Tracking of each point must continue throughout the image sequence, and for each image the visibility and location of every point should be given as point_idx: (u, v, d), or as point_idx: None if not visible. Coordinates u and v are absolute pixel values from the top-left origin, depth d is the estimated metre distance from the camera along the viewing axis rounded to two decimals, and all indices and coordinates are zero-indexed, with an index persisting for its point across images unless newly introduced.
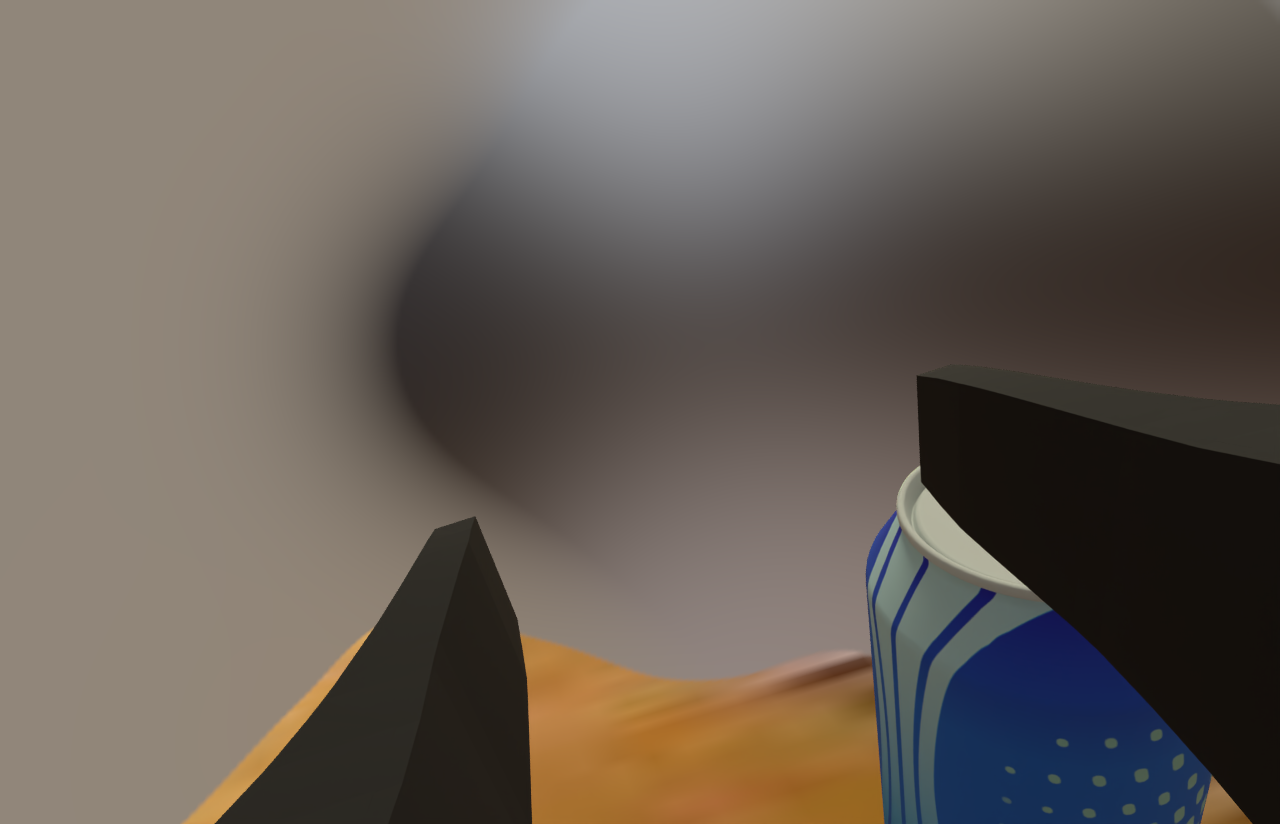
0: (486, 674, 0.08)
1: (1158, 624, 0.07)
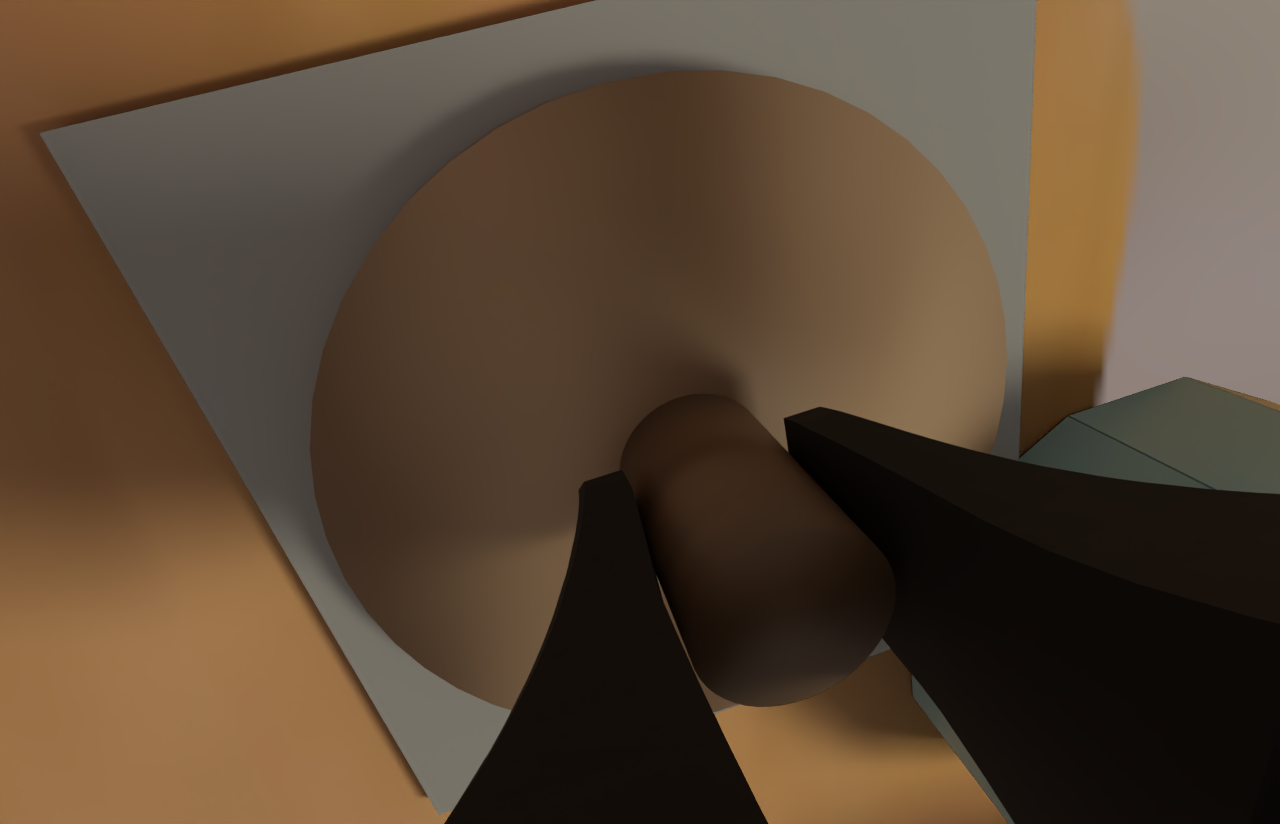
0: None
1: (978, 693, 0.07)
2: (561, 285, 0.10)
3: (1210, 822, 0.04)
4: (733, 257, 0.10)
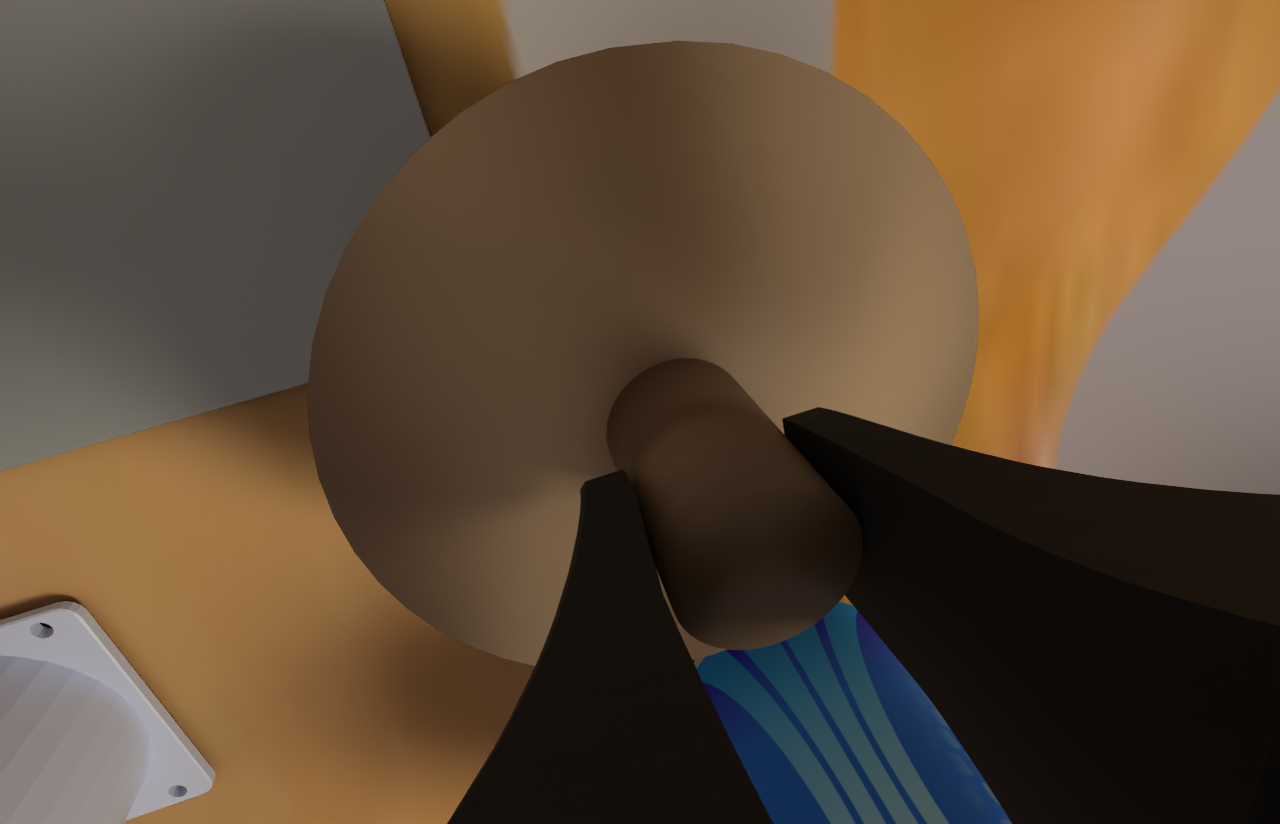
0: None
1: (976, 693, 0.07)
2: (535, 264, 0.10)
3: (1207, 823, 0.04)
4: (702, 225, 0.10)
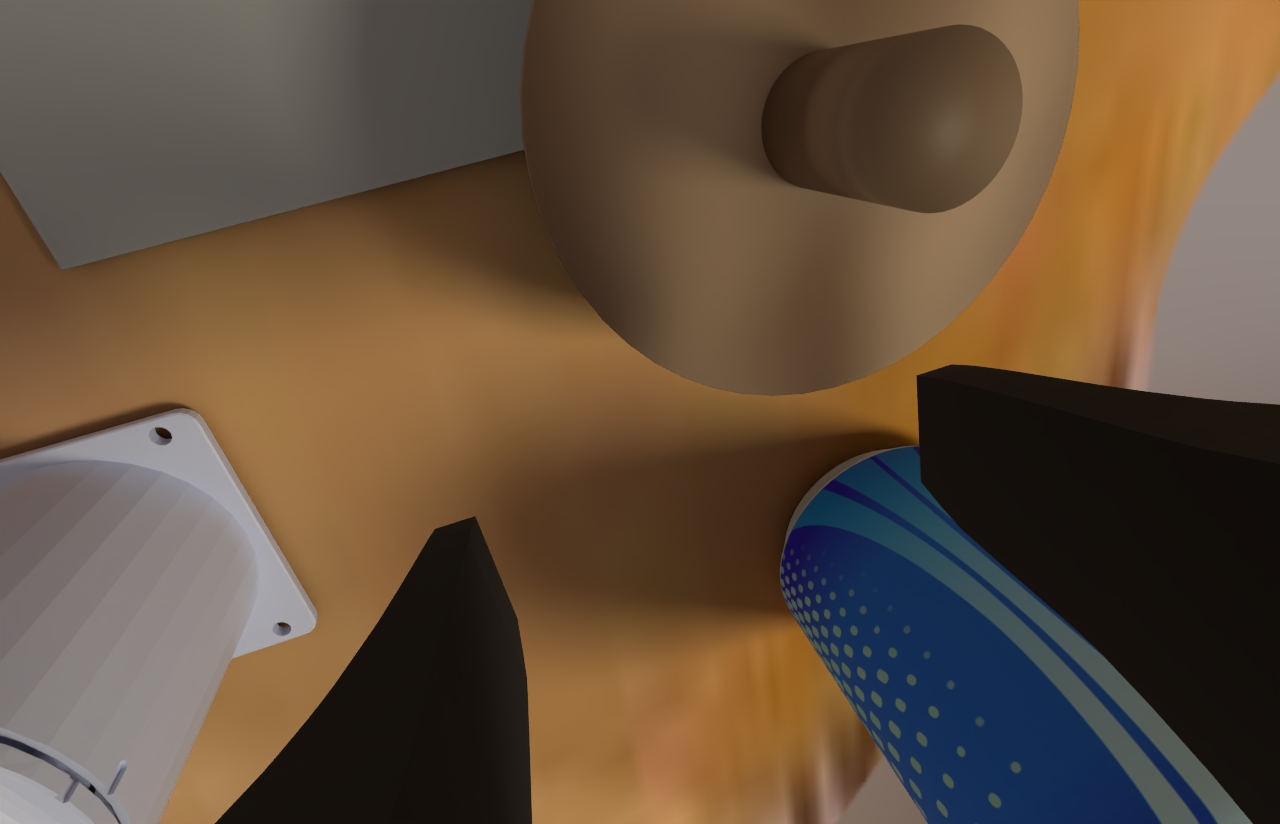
0: (486, 674, 0.08)
1: (1158, 624, 0.07)
2: None
3: None
4: None
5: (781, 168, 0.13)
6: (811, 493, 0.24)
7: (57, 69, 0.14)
